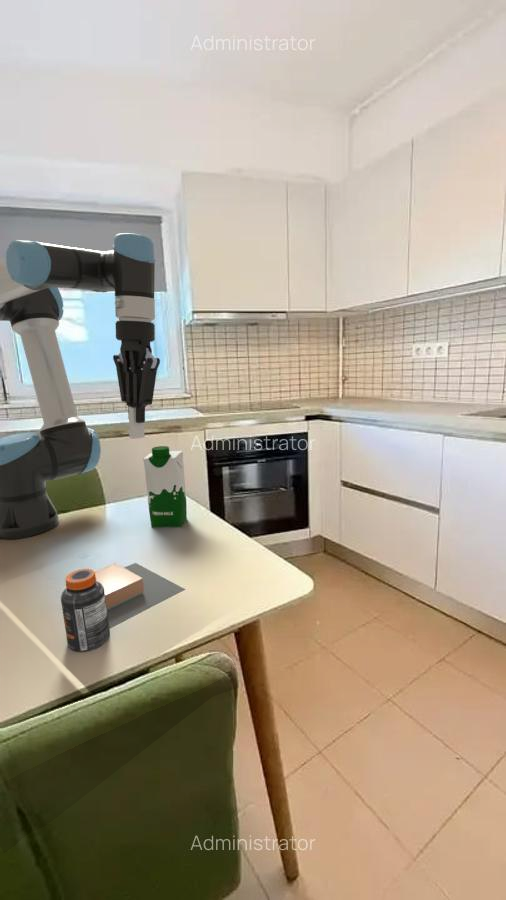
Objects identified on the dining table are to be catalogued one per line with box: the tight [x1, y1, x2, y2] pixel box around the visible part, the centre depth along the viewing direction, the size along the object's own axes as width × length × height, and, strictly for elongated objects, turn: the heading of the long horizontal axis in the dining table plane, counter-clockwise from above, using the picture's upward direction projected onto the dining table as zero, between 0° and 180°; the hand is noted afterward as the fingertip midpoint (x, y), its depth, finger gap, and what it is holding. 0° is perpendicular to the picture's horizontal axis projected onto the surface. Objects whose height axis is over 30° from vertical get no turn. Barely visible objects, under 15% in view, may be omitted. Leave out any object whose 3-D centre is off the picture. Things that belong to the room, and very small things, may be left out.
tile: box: [94, 562, 144, 611], centre depth 77 cm, size 9×3×9 cm
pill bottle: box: [60, 568, 111, 653], centre depth 65 cm, size 6×6×11 cm
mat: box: [107, 562, 186, 630], centre depth 79 cm, size 16×15×1 cm
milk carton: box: [142, 445, 188, 529], centre depth 109 cm, size 9×9×20 cm
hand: (136, 437), depth 93 cm, fingers closed
